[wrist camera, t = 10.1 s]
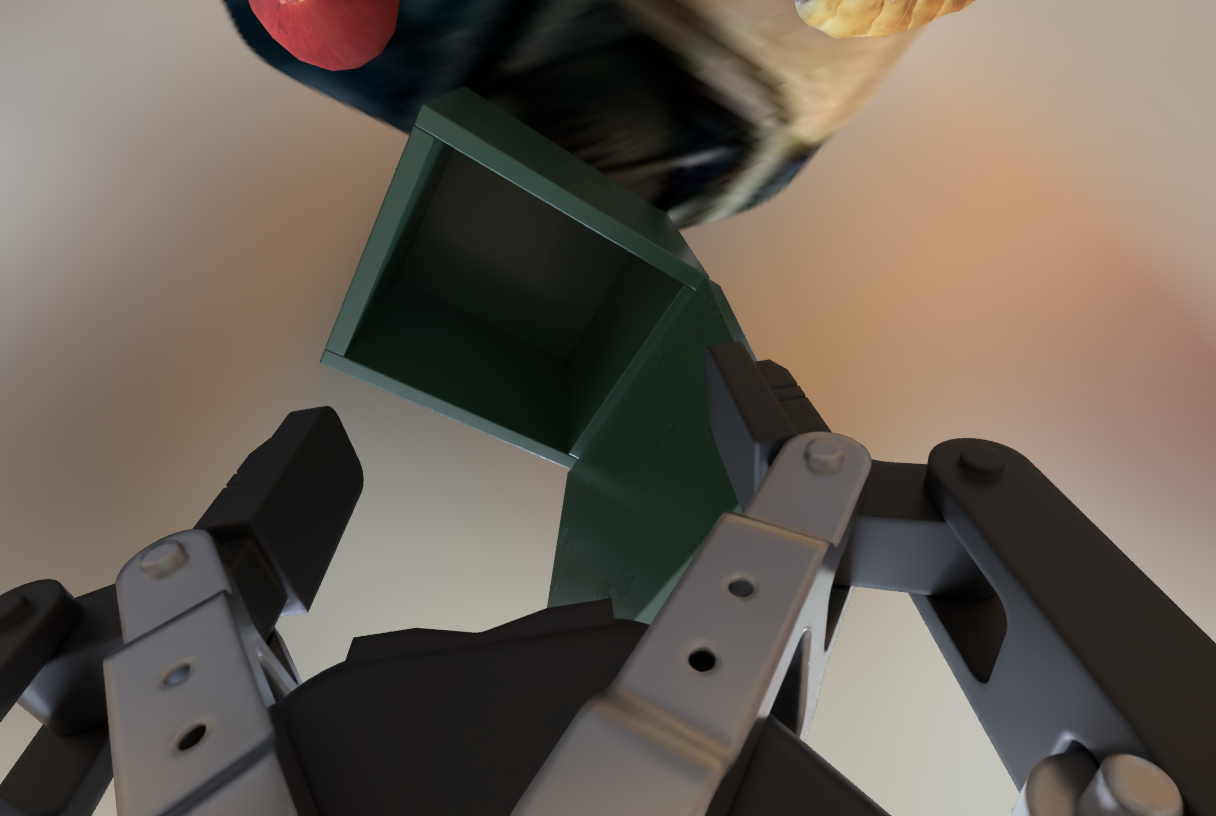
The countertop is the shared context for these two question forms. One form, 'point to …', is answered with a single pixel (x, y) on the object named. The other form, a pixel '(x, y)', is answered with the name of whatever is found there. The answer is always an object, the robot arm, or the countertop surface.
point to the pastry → (872, 15)
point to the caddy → (509, 282)
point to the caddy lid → (649, 475)
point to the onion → (330, 29)
